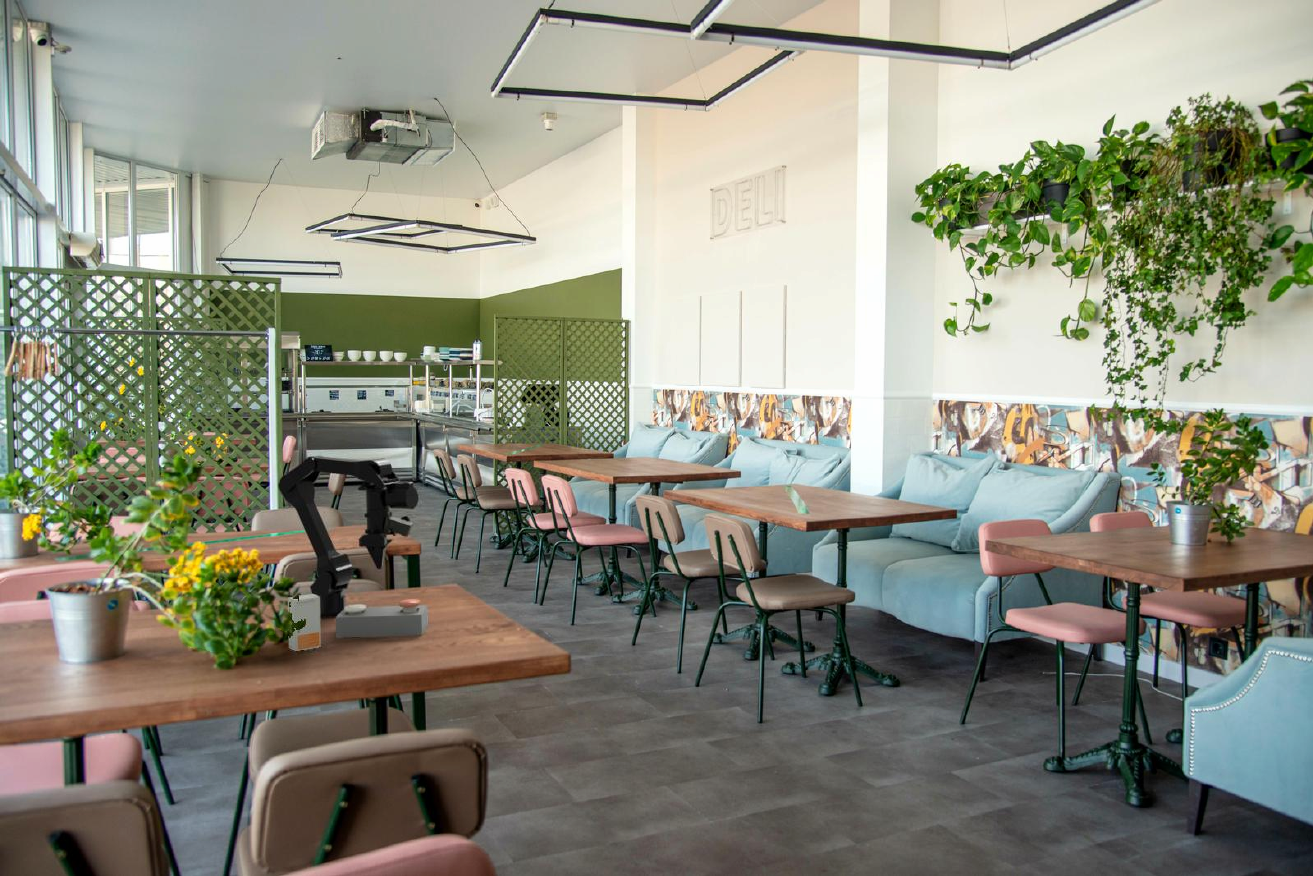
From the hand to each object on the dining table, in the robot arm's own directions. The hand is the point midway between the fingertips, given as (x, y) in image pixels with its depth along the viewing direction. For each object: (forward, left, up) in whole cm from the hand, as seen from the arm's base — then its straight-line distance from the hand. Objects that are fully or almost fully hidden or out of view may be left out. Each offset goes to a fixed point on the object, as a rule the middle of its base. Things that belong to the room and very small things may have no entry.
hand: (379, 568), depth 244 cm
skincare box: (-12, -26, -13) cm, 32 cm away
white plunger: (-3, -13, -12) cm, 18 cm away
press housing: (+3, -13, -13) cm, 19 cm away
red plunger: (+10, -13, -11) cm, 19 cm away
